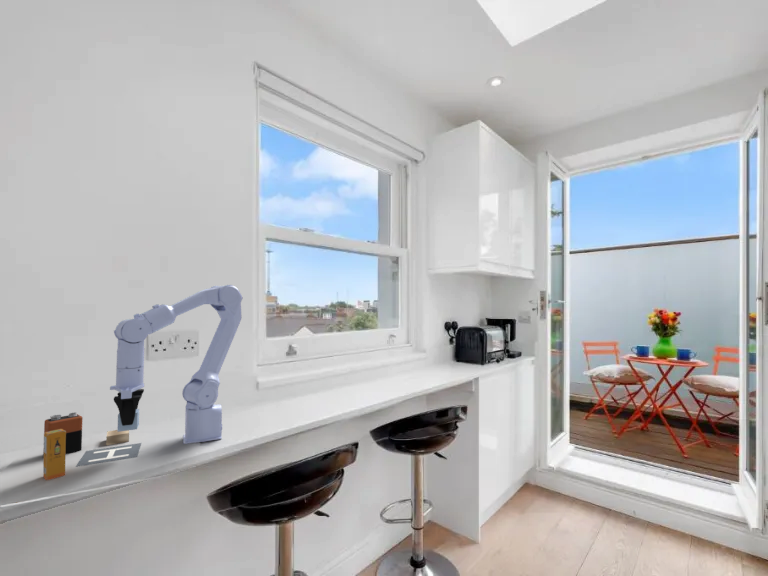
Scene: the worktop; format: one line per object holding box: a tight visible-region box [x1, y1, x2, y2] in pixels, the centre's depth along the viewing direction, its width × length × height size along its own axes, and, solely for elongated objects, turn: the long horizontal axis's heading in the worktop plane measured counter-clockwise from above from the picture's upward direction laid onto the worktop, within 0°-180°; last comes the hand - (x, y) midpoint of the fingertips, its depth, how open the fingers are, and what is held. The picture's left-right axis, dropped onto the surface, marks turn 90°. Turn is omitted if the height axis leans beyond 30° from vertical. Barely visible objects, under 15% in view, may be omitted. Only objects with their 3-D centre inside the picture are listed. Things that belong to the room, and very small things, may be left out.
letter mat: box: [75, 442, 142, 468], centre depth 95 cm, size 12×11×1 cm
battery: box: [42, 412, 83, 456], centre depth 96 cm, size 4×7×10 cm, turn 143°
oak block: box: [105, 429, 130, 446], centre depth 104 cm, size 5×5×3 cm
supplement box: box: [42, 429, 66, 481], centre depth 83 cm, size 3×3×10 cm
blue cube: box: [116, 408, 140, 432], centre depth 95 cm, size 4×4×4 cm
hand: (128, 422), depth 95 cm, fingers closed on blue cube, 4 cm apart
